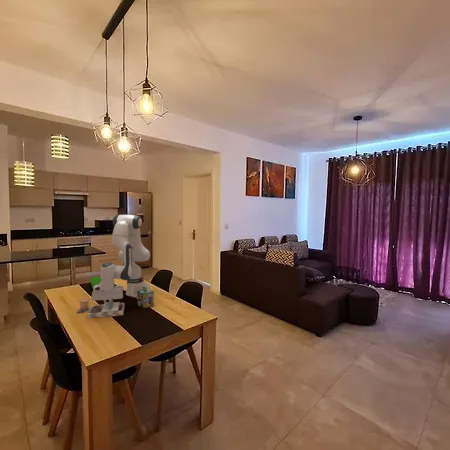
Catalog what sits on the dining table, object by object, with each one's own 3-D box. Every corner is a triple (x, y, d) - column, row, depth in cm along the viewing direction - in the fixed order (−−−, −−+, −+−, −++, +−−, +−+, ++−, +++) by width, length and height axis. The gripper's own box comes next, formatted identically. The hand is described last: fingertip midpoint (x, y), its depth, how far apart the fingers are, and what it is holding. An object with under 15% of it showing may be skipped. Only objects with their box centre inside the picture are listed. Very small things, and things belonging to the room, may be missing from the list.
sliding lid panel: (119, 302, 196) (119, 298, 195) (117, 311, 181) (117, 306, 181) (104, 304, 192) (104, 300, 192) (101, 312, 178) (101, 307, 178)
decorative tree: (98, 280, 220) (89, 271, 243) (93, 293, 218) (84, 283, 241) (111, 283, 227) (102, 274, 250) (106, 296, 226) (97, 285, 248)
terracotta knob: (89, 307, 193) (89, 298, 193) (88, 310, 188) (88, 301, 187) (80, 308, 191) (80, 299, 191) (79, 311, 186) (78, 302, 185)
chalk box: (154, 305, 202) (154, 287, 200) (142, 309, 195) (142, 289, 194) (148, 302, 208) (148, 284, 207) (137, 305, 202) (137, 286, 201)
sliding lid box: (124, 307, 197) (124, 302, 197) (123, 315, 183) (122, 311, 182) (92, 310, 190) (91, 305, 190) (87, 319, 176) (87, 314, 176)
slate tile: (90, 308, 194) (90, 307, 194) (88, 312, 187) (88, 311, 187) (80, 309, 192) (80, 308, 192) (77, 312, 185) (77, 312, 185)
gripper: (123, 283, 191) (123, 302, 192) (92, 285, 185) (92, 304, 187) (122, 286, 185) (123, 305, 186) (90, 288, 179) (91, 308, 180)
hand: (107, 305), depth 186 cm, fingers closed
